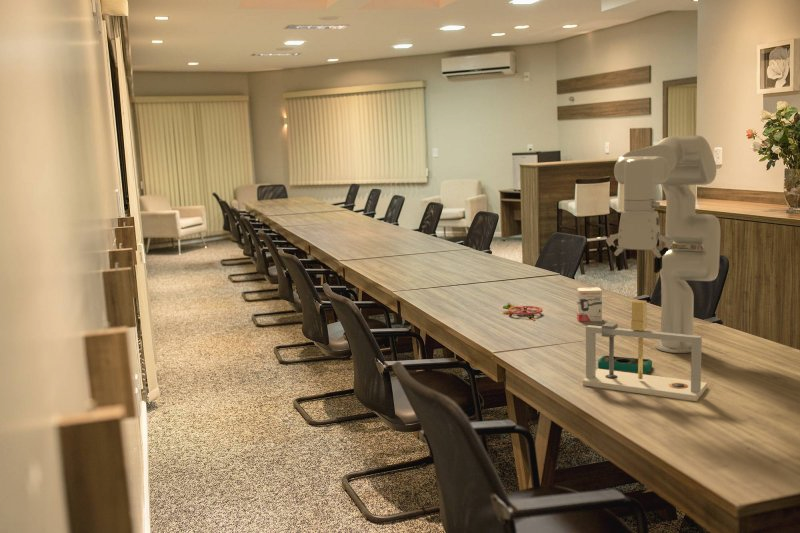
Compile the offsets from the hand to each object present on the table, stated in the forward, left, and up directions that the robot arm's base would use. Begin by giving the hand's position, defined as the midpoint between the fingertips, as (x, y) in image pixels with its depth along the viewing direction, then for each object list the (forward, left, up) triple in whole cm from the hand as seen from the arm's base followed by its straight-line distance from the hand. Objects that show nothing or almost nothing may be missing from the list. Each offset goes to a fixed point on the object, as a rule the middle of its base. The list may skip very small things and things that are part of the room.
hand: (638, 271), depth 209 cm
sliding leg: (0, 0, -30) cm, 30 cm away
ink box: (-70, -39, -32) cm, 86 cm away
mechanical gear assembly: (-72, -67, -33) cm, 103 cm away
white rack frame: (-2, +1, -32) cm, 32 cm away
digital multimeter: (-17, -9, -33) cm, 38 cm away
